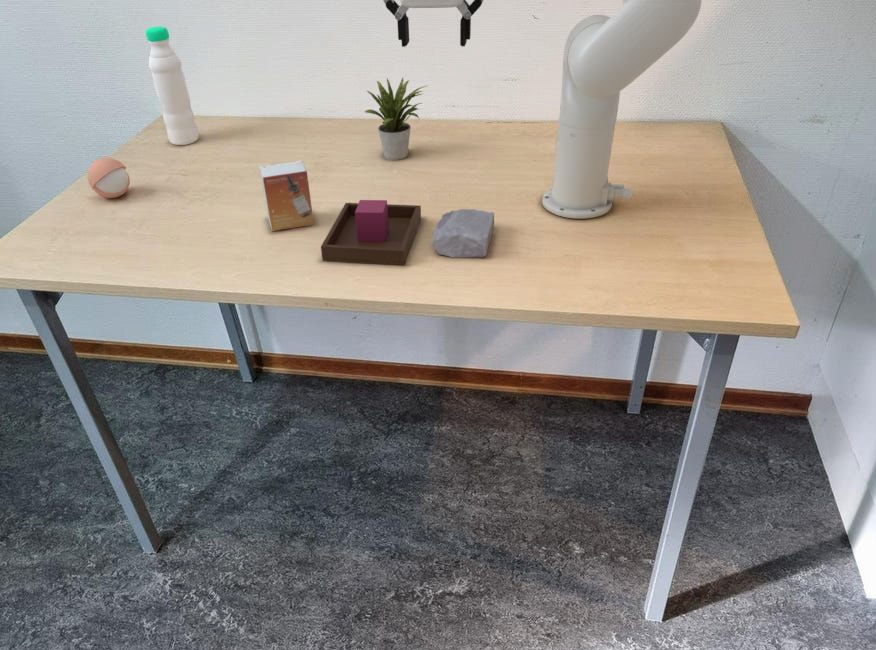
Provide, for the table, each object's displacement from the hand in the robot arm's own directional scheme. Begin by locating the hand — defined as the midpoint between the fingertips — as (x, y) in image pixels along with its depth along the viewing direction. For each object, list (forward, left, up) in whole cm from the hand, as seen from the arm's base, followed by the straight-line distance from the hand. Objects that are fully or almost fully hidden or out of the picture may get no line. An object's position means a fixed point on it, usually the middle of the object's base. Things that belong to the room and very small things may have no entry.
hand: (434, 44), depth 109 cm
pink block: (+9, +15, -28) cm, 33 cm away
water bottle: (+66, -29, -28) cm, 78 cm away
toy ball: (+67, +2, -28) cm, 73 cm away
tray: (+9, +15, -28) cm, 33 cm away
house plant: (+12, -22, -28) cm, 38 cm away
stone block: (-6, +14, -28) cm, 32 cm away
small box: (+26, +10, -28) cm, 40 cm away
